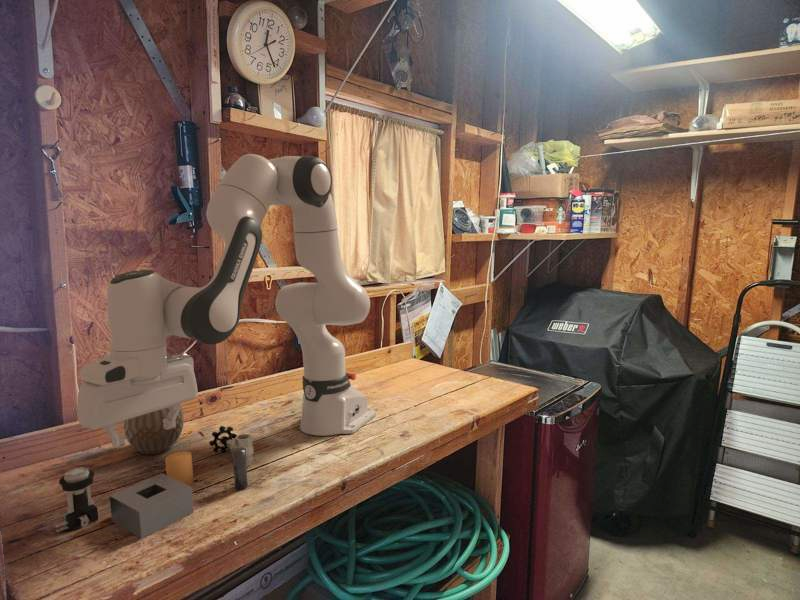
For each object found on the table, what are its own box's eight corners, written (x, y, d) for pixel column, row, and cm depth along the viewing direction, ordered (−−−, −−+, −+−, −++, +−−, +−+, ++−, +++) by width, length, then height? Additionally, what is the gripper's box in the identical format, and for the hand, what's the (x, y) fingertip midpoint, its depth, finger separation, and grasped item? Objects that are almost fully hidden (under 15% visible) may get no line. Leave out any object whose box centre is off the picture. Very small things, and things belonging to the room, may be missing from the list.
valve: (262, 462, 114) (235, 447, 122) (261, 434, 113) (233, 421, 121) (236, 472, 109) (209, 456, 117) (234, 444, 108) (208, 430, 116)
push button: (62, 539, 86) (56, 485, 84) (51, 528, 89) (45, 476, 88) (104, 521, 91) (98, 470, 90) (91, 512, 94) (86, 462, 93)
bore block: (163, 496, 99) (161, 473, 99) (193, 511, 94) (191, 486, 93) (111, 521, 91) (109, 495, 90) (141, 539, 86) (139, 512, 85)
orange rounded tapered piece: (184, 475, 108) (182, 449, 107) (198, 481, 105) (196, 455, 104) (162, 485, 104) (160, 458, 103) (176, 492, 101) (174, 464, 100)
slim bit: (242, 482, 105) (240, 446, 104) (250, 485, 103) (248, 449, 102) (231, 487, 103) (229, 451, 101) (240, 491, 101) (238, 454, 100)
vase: (174, 433, 131) (168, 369, 129) (193, 448, 122) (188, 379, 119) (119, 448, 122) (112, 380, 120) (136, 466, 113) (129, 391, 110)
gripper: (182, 349, 99) (186, 416, 100) (69, 372, 82) (76, 452, 83) (202, 352, 95) (206, 422, 97) (87, 378, 78) (95, 461, 80)
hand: (145, 436), depth 90 cm, fingers open, 8 cm apart
